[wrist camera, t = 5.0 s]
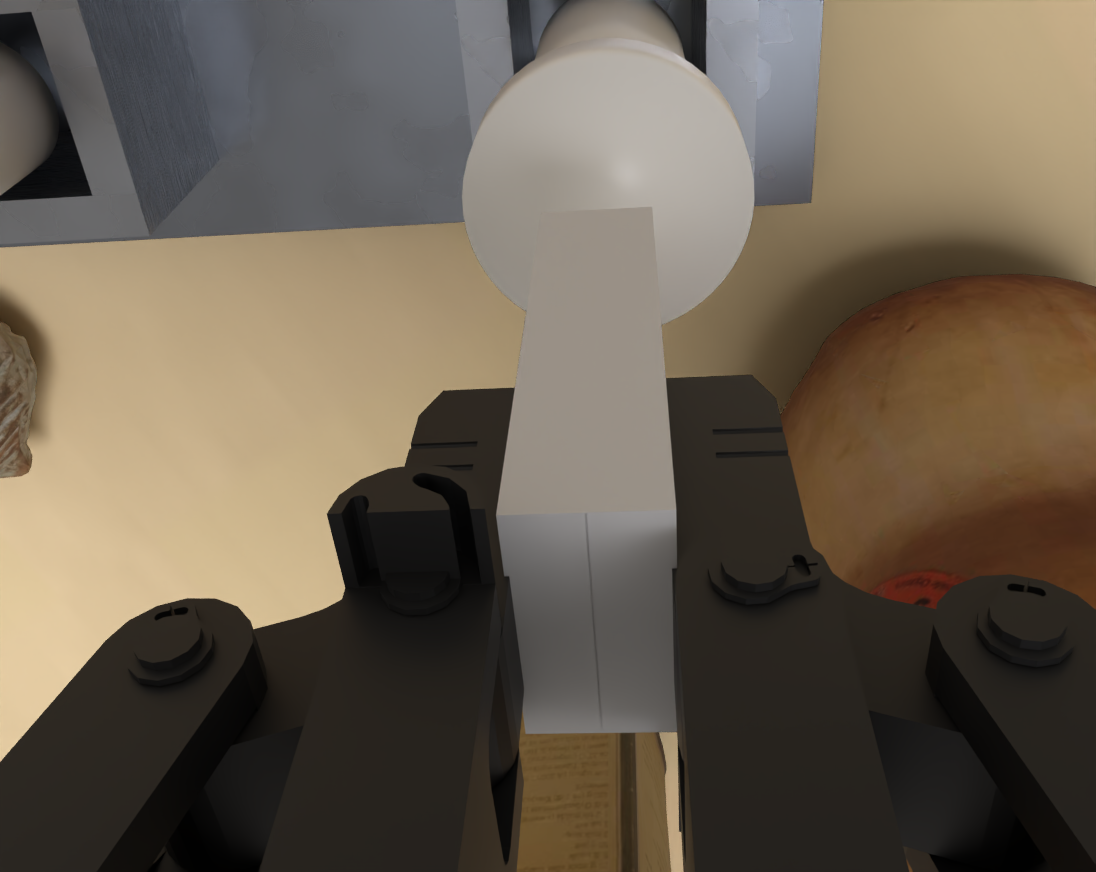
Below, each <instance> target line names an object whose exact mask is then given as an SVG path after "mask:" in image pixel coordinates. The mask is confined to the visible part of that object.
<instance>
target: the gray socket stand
mask: <svg viewBox="0 0 1096 872" xmlns="http://www.w3.org/2000/svg"><path fill="white" fill-rule="evenodd" d="M567 1H568V0H0V42H1V43H3V44H5V45H6V46H8V47H10V48H11V49H13V50H14V51H16V52H17V53H19V54H20V55H21V56H22V57H24V58H25V59H26V60H27V61H28V62H29V63H30V64H31V65H32V66H33V67H34V68H35V69H36V70H37V72H38V73H39V74H40V75H41V77H42V78H43V80H44V81H45V83H46V84H47V86H48V88H49V90H50V92H51V94H52V96H53V99H54V101H55V104H56V108H57V112H58V119H59V132H58V139H57V142H56V145H55V148H54V150H53V152H52V153H51V155H50V156H49V158H48V159H47V160H46V161H45V162H44V163H43V164H41V165H40V166H39V167H37V168H36V169H35V170H33V171H32V172H31V173H30V174H28V175H27V176H26V177H24V178H23V179H22V180H20V181H19V182H18V183H16V184H15V185H14V186H12V187H11V188H10V189H8V190H7V191H6V192H4V193H3V194H2V195H0V247H17V246H36V245H54V244H72V243H90V242H108V241H127V240H145V239H163V238H181V237H200V236H218V235H236V234H254V233H272V232H291V231H309V230H327V229H345V228H364V227H382V226H400V225H418V224H436V223H455V222H465V221H464V216H463V204H462V190H463V178H464V173H465V169H466V164H467V160H468V157H469V154H470V151H471V148H472V145H473V142H474V139H475V136H476V134H477V131H478V128H479V125H480V123H481V120H482V118H483V116H484V114H485V113H486V111H487V109H488V107H489V105H490V103H491V102H492V101H493V99H494V98H495V96H496V95H497V94H498V92H499V91H500V89H501V88H502V87H503V86H504V85H505V84H506V83H507V82H508V81H509V80H510V79H511V78H512V77H513V76H514V75H515V74H516V73H517V72H519V71H520V70H521V69H522V68H524V67H525V66H526V65H527V64H529V63H530V62H532V61H534V60H535V57H536V53H537V49H538V45H539V41H540V38H541V35H542V33H543V30H544V29H545V27H546V25H547V23H548V21H549V20H550V19H551V17H552V16H553V14H554V13H555V12H556V11H557V10H558V9H559V8H560V7H561V6H562V5H563V4H564V3H566V2H567ZM654 1H655V2H656V3H658V4H659V5H660V6H661V7H662V8H663V9H664V10H665V11H666V12H667V13H668V15H669V16H670V18H671V19H672V21H673V22H674V24H675V26H676V28H677V30H678V33H679V36H680V39H681V42H682V47H683V52H684V56H685V60H687V61H688V62H690V63H691V64H693V65H694V66H695V67H696V68H698V69H699V70H700V71H701V72H702V73H704V74H705V75H706V76H707V77H708V78H709V79H710V80H711V81H712V82H713V84H714V85H715V86H716V87H717V88H718V89H719V90H720V92H721V93H722V95H723V96H724V98H725V99H726V100H727V102H728V103H729V105H730V107H731V109H732V111H733V113H734V115H735V117H736V119H737V121H738V124H739V127H740V130H741V133H742V136H743V139H744V142H745V146H746V149H747V152H748V155H749V158H750V162H751V167H752V173H753V178H754V206H765V205H783V204H801V203H811V197H812V181H813V165H814V148H815V132H816V116H817V100H818V84H819V67H820V51H821V35H822V19H823V3H824V0H654Z"/></svg>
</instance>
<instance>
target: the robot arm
mask: <svg viewBox="0 0 1096 872" xmlns="http://www.w3.org/2000/svg"><path fill="white" fill-rule="evenodd" d="M327 516H328V520H329V524H330V528H331V532H332V536H333V540H334V544H335V548H336V552H337V556H338V560H339V564H340V568H341V572H342V576H343V580H344V584H345V592H344V595H343V598H342V600H340V601H338V602H336V603H335V604H333V605H331V606H329V607H327V608H325V609H323V610H320V611H317V612H314V613H311V614H308V615H306V616H303V617H299V618H295V619H292V620H288V621H284V622H280V623H276V624H272V625H269V626H265V627H261V628H257V629H253V627H252V624H251V621H250V620H249V619H248V618H247V617H246V616H245V615H244V613H243V612H242V611H241V610H240V609H239V608H238V607H237V606H234V605H232V604H229V603H226V602H223V601H220V600H218V599H183V600H179V601H175V602H171V603H168V604H164V605H160V606H156V607H154V608H153V609H151V610H149V611H147V612H145V613H143V614H141V615H139V616H137V617H135V618H133V619H131V620H129V621H128V622H127V623H125V624H124V625H123V626H122V627H121V628H120V629H119V630H117V631H116V632H115V633H114V634H113V635H112V636H110V637H109V638H108V639H107V640H106V641H105V642H104V643H103V644H102V646H101V647H100V648H99V649H98V650H97V651H96V652H95V654H94V655H93V656H92V657H91V658H90V659H89V660H88V662H87V663H86V664H85V665H84V666H83V667H82V669H81V670H80V671H79V672H78V673H77V674H76V675H75V677H74V678H73V679H72V680H71V681H70V682H69V683H68V685H67V686H66V687H65V688H64V689H63V690H62V692H61V693H60V694H59V695H58V696H57V697H56V698H55V700H54V701H53V702H52V703H51V704H50V705H49V707H48V708H47V709H46V710H45V711H44V712H43V713H42V715H41V716H40V717H39V718H38V719H37V720H36V721H35V723H34V724H33V725H32V726H31V727H30V728H29V730H28V731H27V732H26V733H25V734H24V735H23V736H22V738H21V739H20V740H19V741H18V742H17V743H16V745H15V746H14V747H13V748H12V749H11V750H10V751H9V753H8V754H7V755H6V756H5V757H4V758H3V759H2V761H1V762H0V872H517V861H518V849H519V837H520V824H521V812H522V800H523V788H524V779H523V772H522V765H521V758H520V751H519V740H520V729H521V718H522V710H523V717H524V724H525V732H526V734H560V733H639V732H677V737H678V783H679V832H681V833H682V850H683V867H684V872H909V868H908V864H907V861H908V863H909V865H910V867H911V869H912V871H913V872H1096V609H1094V608H1093V607H1092V606H1091V605H1089V604H1088V603H1087V602H1086V601H1084V600H1083V599H1082V598H1081V597H1079V596H1078V595H1076V594H1074V593H1072V592H1069V591H1067V590H1065V589H1063V588H1060V587H1058V586H1056V585H1054V584H1051V583H1049V582H1047V581H1043V580H1038V579H1033V578H1028V577H1023V576H1017V575H1012V574H1007V575H988V576H978V577H975V578H972V579H970V580H967V581H964V582H962V583H959V584H956V585H954V586H952V587H951V588H950V589H949V591H948V592H947V593H946V594H945V595H944V596H943V597H942V598H941V599H940V600H939V601H938V602H937V606H936V609H934V608H929V607H924V606H919V605H914V604H909V603H905V602H900V601H895V600H891V599H887V598H884V597H880V596H877V595H873V594H870V593H867V592H865V591H862V590H860V589H858V588H856V587H854V586H852V585H850V584H848V583H846V582H844V581H843V580H842V579H840V578H839V577H838V576H836V575H835V574H833V572H832V571H831V569H830V567H829V565H828V564H827V562H826V560H825V558H824V556H823V555H822V554H820V553H819V552H818V551H816V550H815V549H814V548H813V546H812V544H811V542H810V538H809V534H808V530H807V526H806V522H805V517H804V513H803V509H802V505H801V501H800V497H799V492H798V488H797V484H796V480H795V476H794V472H793V467H792V463H791V459H790V456H788V447H787V443H786V438H785V434H784V432H783V426H782V422H781V418H780V413H779V409H778V405H777V401H776V398H775V397H774V396H773V395H772V394H771V393H770V392H769V391H768V390H767V389H766V388H765V387H763V386H762V385H761V384H760V383H759V382H758V381H757V380H756V379H755V378H754V377H753V376H752V375H735V376H711V377H687V378H666V375H665V362H664V350H663V337H662V325H661V312H660V300H659V287H658V275H657V262H656V250H655V237H654V224H653V212H652V207H637V208H619V209H601V210H583V211H565V212H547V213H541V215H540V222H539V229H538V235H537V242H536V249H535V256H534V262H533V269H532V276H531V283H530V289H529V296H528V303H527V310H526V316H525V323H524V330H523V337H522V343H521V350H520V357H519V364H518V370H517V377H516V384H515V388H497V389H473V390H449V391H443V392H442V393H441V394H440V395H439V396H438V397H437V398H436V399H435V400H434V401H433V402H432V403H431V404H430V405H429V406H428V407H427V408H426V409H425V410H424V411H423V412H422V413H421V414H420V415H419V417H418V421H417V424H416V428H415V431H414V435H413V438H412V442H411V449H409V453H408V456H407V460H406V463H405V466H404V467H398V468H391V469H387V470H384V471H382V472H379V473H376V474H374V475H371V476H369V477H366V478H364V479H361V480H360V481H358V482H357V483H355V484H354V485H353V486H351V487H350V488H349V489H347V490H346V491H344V492H343V493H342V494H340V495H339V496H338V498H337V499H336V501H335V502H334V504H333V505H332V507H331V508H330V510H329V511H328V513H327ZM906 859H907V860H906Z"/></svg>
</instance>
